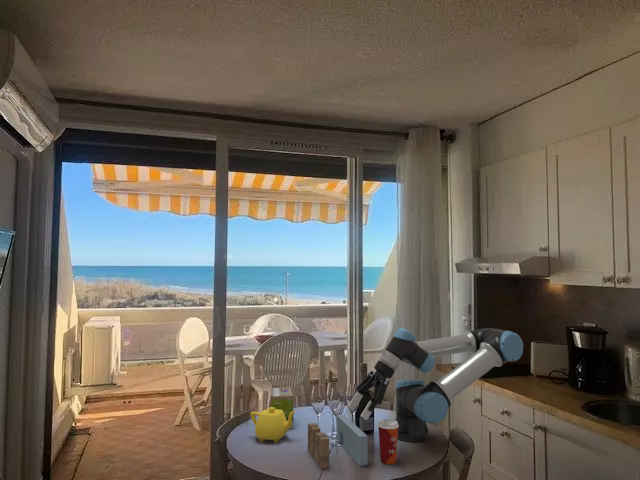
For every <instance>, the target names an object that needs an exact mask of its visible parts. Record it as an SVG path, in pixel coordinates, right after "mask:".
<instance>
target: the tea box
mask: <svg viewBox="0 0 640 480" xmlns="http://www.w3.org/2000/svg"><path fill="white" fill-rule="evenodd" d="M270 407H274V408H275V409H279V410H282V411H283V412H284V414H285V417H286V420H287V421H288V418H289V414H290V413H291V412H293V411H294V393H293V390H292V387H290V386H289V387H270ZM293 429H294V416H293V417H292V424H291V427H290V428H289V429H288V430H293Z"/></svg>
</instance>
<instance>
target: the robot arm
mask: <svg viewBox="0 0 640 480" xmlns="http://www.w3.org/2000/svg"><path fill="white" fill-rule="evenodd" d="M523 352H524V342H523V340H522V338H521V337H520V335H519V334H517V333H516V332H513V331H511V330H505V329H504V330H503V329H499V328H493V327H491V328H490V327H487V328H485V327H484V328H479V329H474V330H469V331H465V332H464V334H459V335H458V334H457V335H451V336H445V337H439V338H432V339H426V340H425V339H424V340H418V341H416V336H415V335H414V333H412V331H409V330H408V329H406V328H404V327H400V328H398V329H397V330H396V332H395V333H394V335H393V336H392V338H391V340H390V342H389V343H388V344H387V346H386V347H385V349H384V351H382V353H381V355H380V357H379V360H377V362H376V363H375V365H374V367H373V369H374V370H375V372H374V371H373V370H370V372H369V373H368V375H367V376H366V377H365V378H364V379H363V380H362V381H361V382H360V383H359V384H358V385H357V386H356V393H355V394H354V396H353V398H352V399H351V401H350V402H349V404H348V405H347V406H348V407H349V408H350V409H352V410H354V411H355V410H356V408H357V407H358V405H359V403H360V402H361V400H362V398H363V397H364V396H365V393H366V392H368V391H369V390H370V389H372V388H373V393H372V397H371V399H370V400H369V401H368V403H367V404H366V406H365V408H364V410H363V411H362V412H361V414H360V417H361V418H362V419H364V420H365V421H368V420H369V418H370V416H371V415H372V413H373V411H374V410H375V408H376V407H377V406H378V405H379V406H380V405H381V404H382V403H383V400H384V397H385V395H386V391H387V388H388V387H389V384H390V382H391V381H390V380H389V379H391V378H392V377H393V375H394V374H395V370H397V369H398V368H399V366H400V364H401V363H402V362H403V363H406V364H407V365H410V366H412V367H415V368H416V369H417V370H418V371H419V372H421V373H424V374H426V373H428V372H431V370H432V369H433V367H434V366H435V362H436V360H435V358H437V357H445V356H451V355H456V354H463V353H468V354H472V355H470V356H469V357H468V358H466V359H465V360H464V361H462V362H461V363H459V364H458V365H457V366H456V367H455V368H452V369H451V371H449V372H448V373H446V374H445V375H444V376H443V377H440V379H439V380H437V381H435V380H431V381H429V382H427V384H425V381H424V380H423V379H418V378H417V379H416V378H406V379H399V380H397V381H396V385H395V405H396V408H395V410H396V414H395V419H394V420H395V421H397V422H398V425H399V427H398V438H397V440H399V441H403V442H411V443H417V442H424V441H427V440H428V439H430V430H429V428H428V425H427V423H428V424H437V423H440V422H442V421H443V420H444V419H445V418H446V417H447V415H448V411H449V408H450V407H451V406H452V400H454V398H456V397H457V396H458V395H460V394H461V393H462V392H463V391H465V390H466V389H467V388H469V387H470V386H472V384H473V383H475V382H477V381H478V379H480V378H482V377H483V375H486V374H487V373H489V371H490V370H492V369H493V368H494V367H498V368H500V367H502V366H503V365H504V364H505V363H507V362H516V361H518V360H519V359H521V357H522V356H523Z"/></svg>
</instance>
